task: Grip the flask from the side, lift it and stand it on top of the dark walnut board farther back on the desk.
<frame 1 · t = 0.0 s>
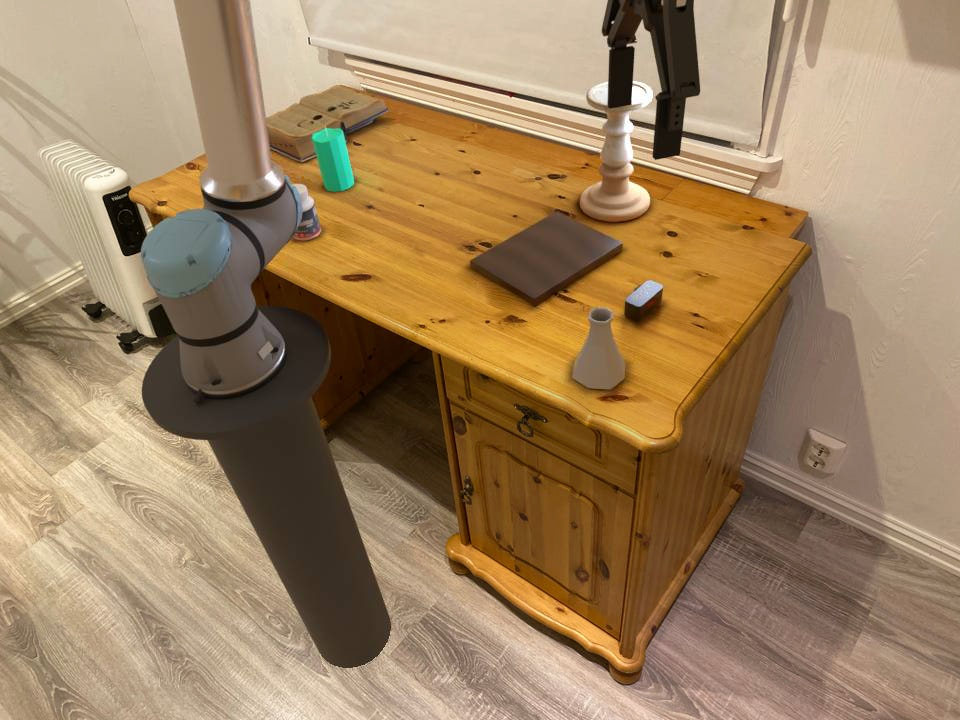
hand: (641, 129, 79), 31 cm above the table, tool pointing down, fingers open, 13 cm apart
book: (326, 133, 160), on the table
pill bottle: (307, 234, 129), on the table
candle: (339, 184, 142), on the table
walnut board: (546, 259, 116), on the table
flask: (598, 373, 96), on the table
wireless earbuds: (641, 307, 105), on the table
candle holder: (614, 205, 127), on the table
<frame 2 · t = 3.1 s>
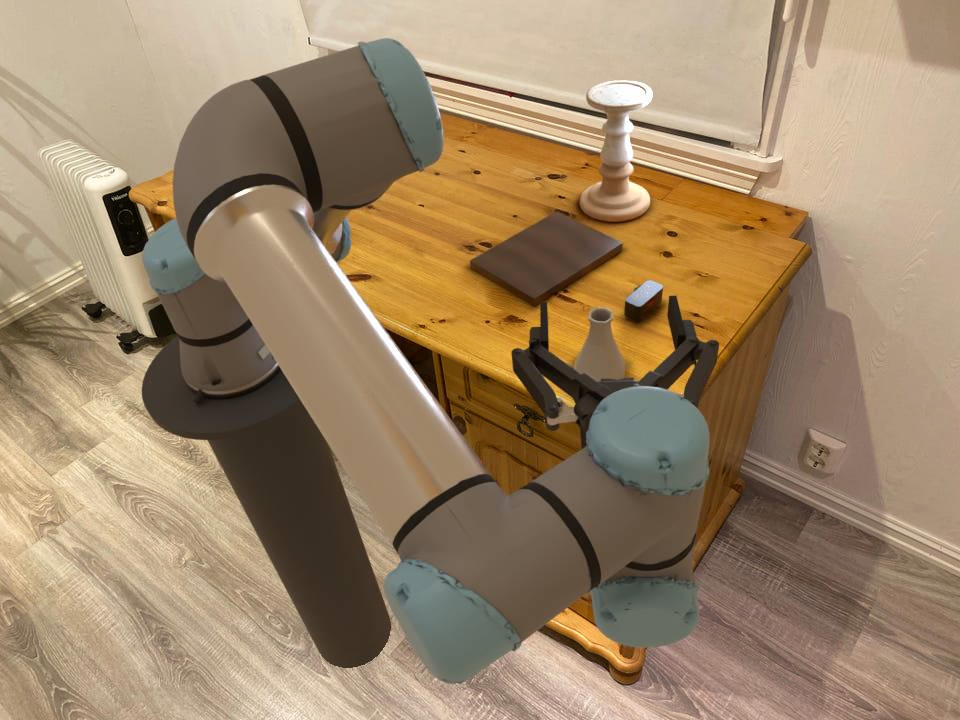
hand: (607, 308, 77), 18 cm above the table, tool horizontal, fingers open, 13 cm apart
nothing on the table moved.
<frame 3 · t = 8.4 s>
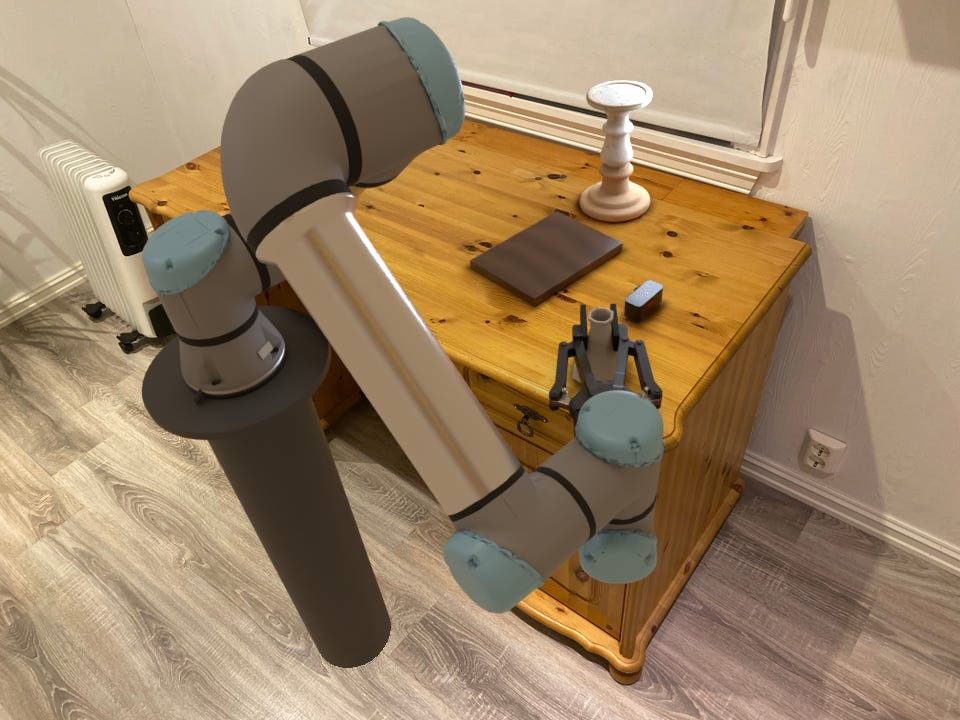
hand: (597, 312, 96), 6 cm above the table, tool horizontal, fingers closed on flask, 3 cm apart
flask: (598, 373, 96), on the table, touching gripper
everything else where it was.
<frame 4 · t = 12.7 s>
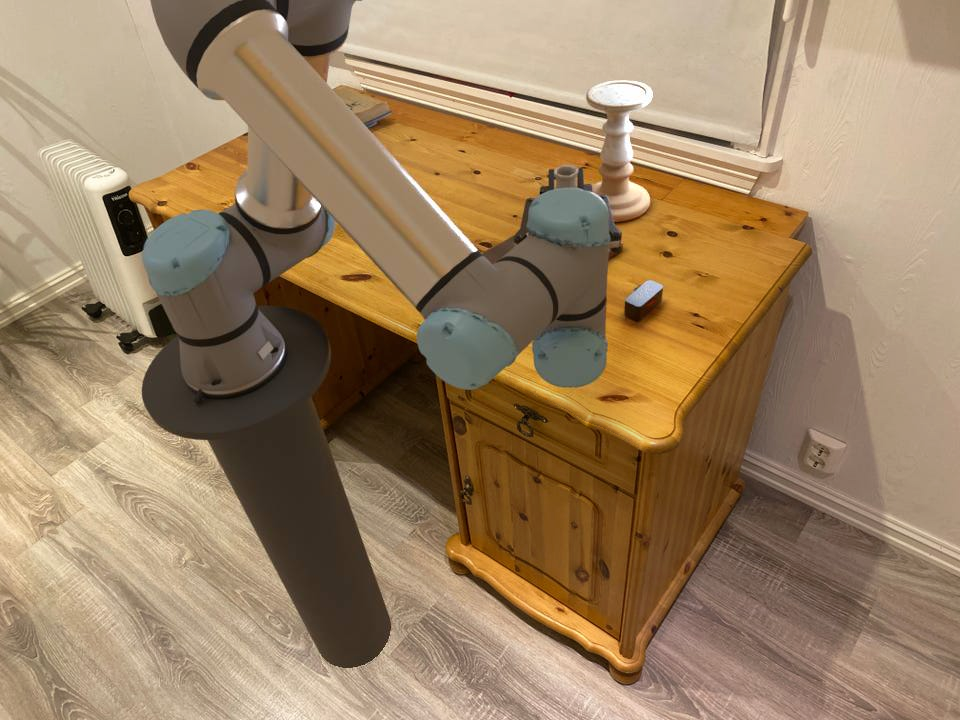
hand: (565, 177, 100), 18 cm above the table, tool horizontal, fingers closed on flask, 3 cm apart
flask: (566, 236, 100), point 12 cm above the table, touching gripper
everything else where it was.
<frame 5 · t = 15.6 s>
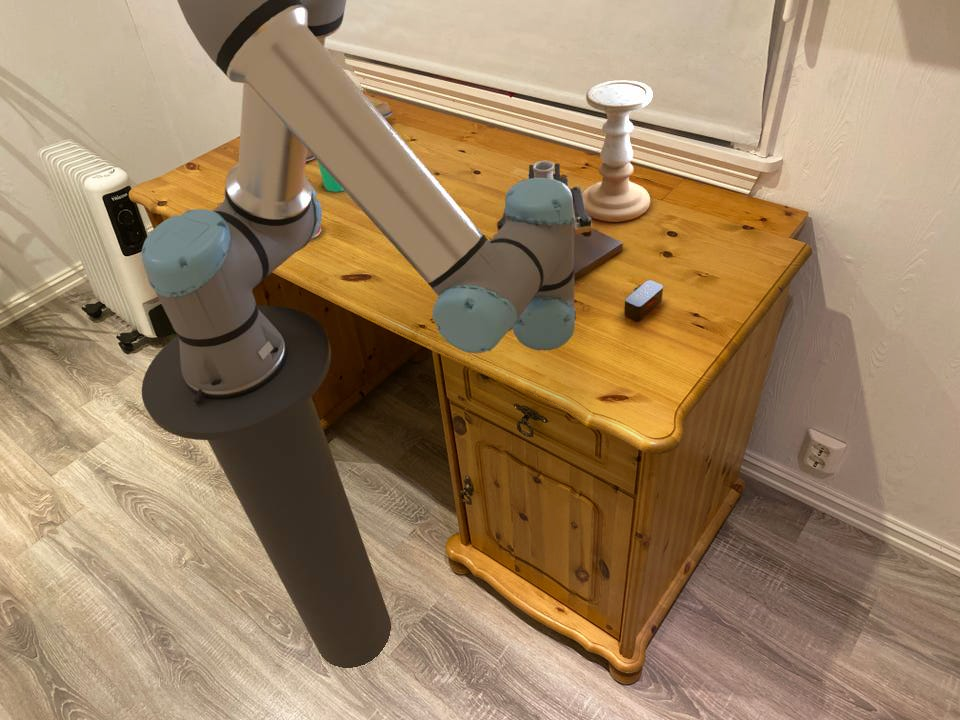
hand: (544, 172, 112), 13 cm above the table, tool horizontal, fingers closed on flask, 3 cm apart
flask: (545, 225, 112), point 6 cm above the table, touching gripper
when the fingers open (7 cm above the table, at t = 17.3 s): flask stays where it is, resting on walnut board.
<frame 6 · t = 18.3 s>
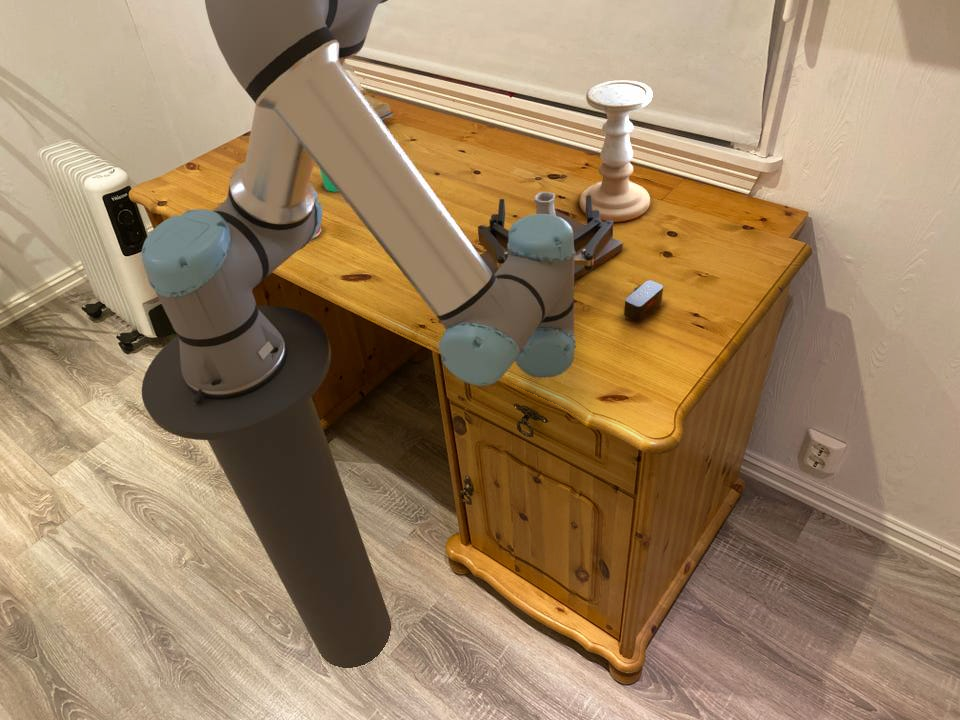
hand: (545, 204, 113), 8 cm above the table, tool horizontal, fingers open, 13 cm apart
flask: (546, 252, 115), point 1 cm above the table, touching walnut board
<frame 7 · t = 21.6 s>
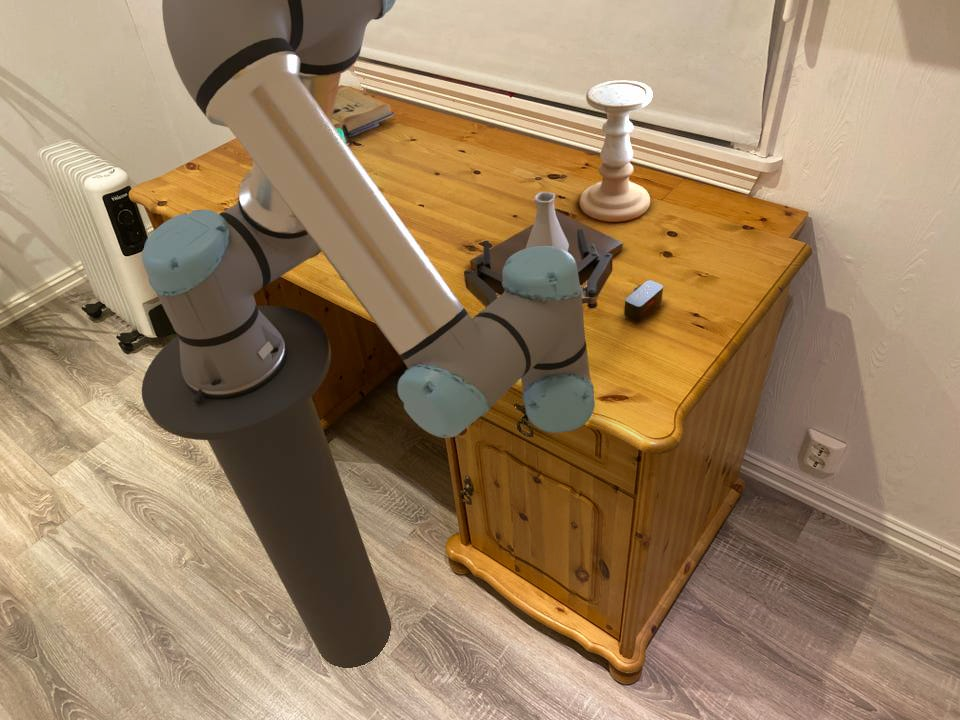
hand: (533, 243, 104), 9 cm above the table, tool horizontal, fingers open, 13 cm apart
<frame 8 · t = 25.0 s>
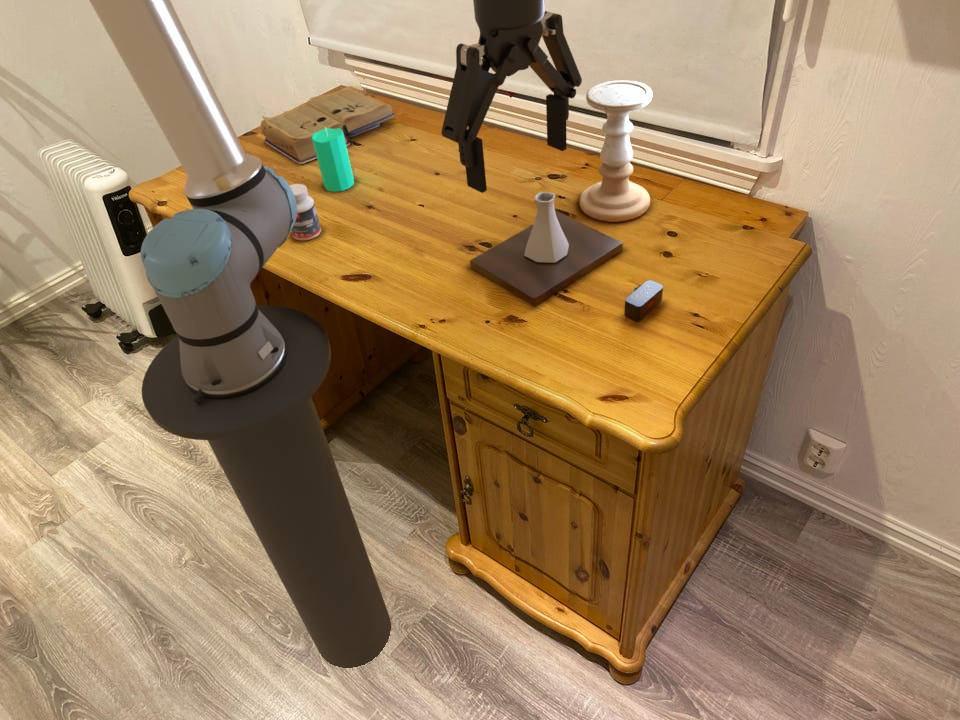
hand: (518, 167, 89), 25 cm above the table, tool pointing down, fingers open, 13 cm apart
at the end: flask inside the target area on the walnut board (0.1 cm from its centre), point 1.3 cm above the walnut board's base; flask tilted 0°; flask touching walnut board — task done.
